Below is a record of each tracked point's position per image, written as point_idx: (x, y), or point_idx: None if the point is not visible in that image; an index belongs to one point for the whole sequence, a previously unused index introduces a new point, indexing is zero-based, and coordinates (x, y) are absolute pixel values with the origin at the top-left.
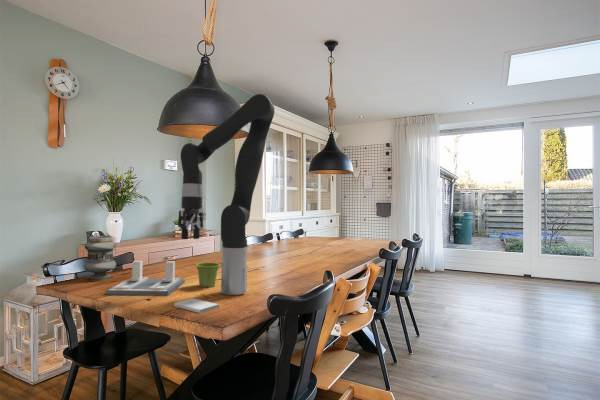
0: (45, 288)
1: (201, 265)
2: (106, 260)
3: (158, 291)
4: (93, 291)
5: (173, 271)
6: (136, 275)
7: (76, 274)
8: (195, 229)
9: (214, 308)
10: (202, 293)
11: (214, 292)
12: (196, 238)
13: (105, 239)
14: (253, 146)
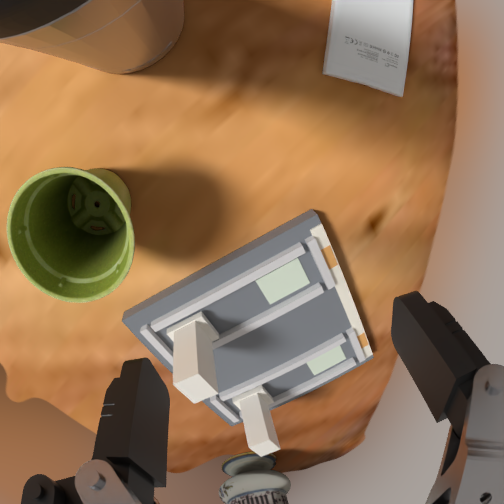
0: (359, 441)
1: (72, 289)
2: (262, 493)
3: (329, 244)
4: (353, 388)
5: (188, 345)
6: (263, 406)
7: None
8: (153, 475)
9: None
10: (214, 117)
11: (171, 86)
12: (154, 372)
13: None
14: None
